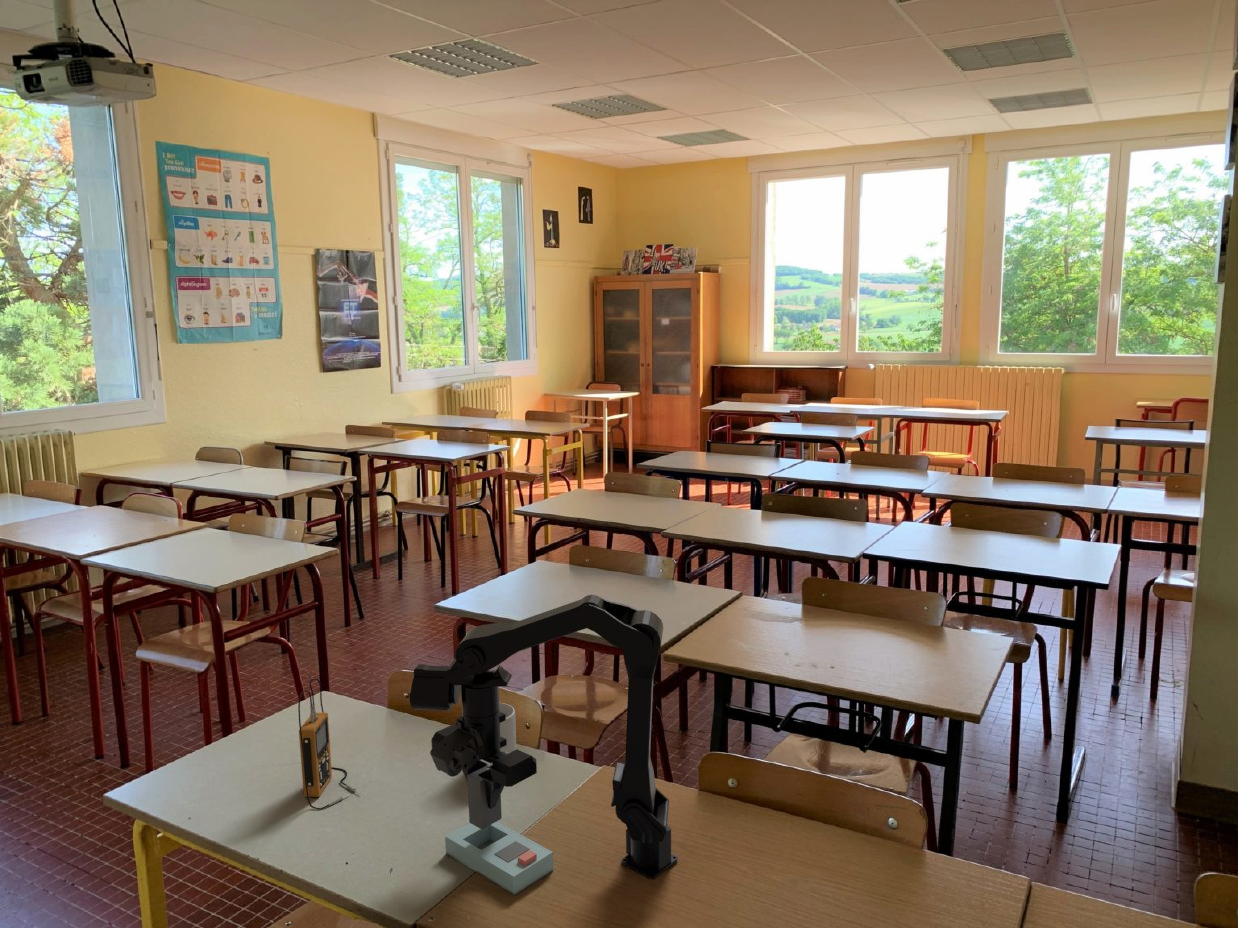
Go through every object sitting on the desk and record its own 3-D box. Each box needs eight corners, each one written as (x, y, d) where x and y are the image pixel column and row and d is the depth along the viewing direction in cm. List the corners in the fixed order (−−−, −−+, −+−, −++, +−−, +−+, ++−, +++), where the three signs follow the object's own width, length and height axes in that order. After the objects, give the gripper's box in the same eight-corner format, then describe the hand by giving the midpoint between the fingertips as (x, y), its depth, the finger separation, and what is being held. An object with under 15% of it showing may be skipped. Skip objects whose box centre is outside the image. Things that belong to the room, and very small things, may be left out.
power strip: (553, 869, 139) (552, 847, 139) (514, 895, 133) (513, 871, 133) (484, 831, 150) (484, 810, 149) (445, 853, 144) (444, 831, 143)
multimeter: (353, 810, 157) (346, 700, 153) (295, 810, 157) (287, 701, 153) (377, 767, 171) (371, 667, 168) (324, 767, 171) (317, 667, 168)
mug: (504, 781, 166) (502, 724, 164) (462, 773, 169) (460, 718, 167) (532, 751, 177) (530, 698, 175) (493, 744, 180) (491, 692, 178)
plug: (489, 811, 145) (487, 765, 144) (501, 818, 143) (499, 771, 142) (469, 822, 142) (467, 774, 141) (481, 829, 140) (479, 781, 139)
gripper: (400, 710, 139) (406, 804, 142) (479, 747, 127) (484, 849, 130) (458, 687, 148) (462, 776, 150) (537, 720, 136) (540, 816, 138)
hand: (484, 803), depth 142 cm, fingers closed on plug, 3 cm apart
